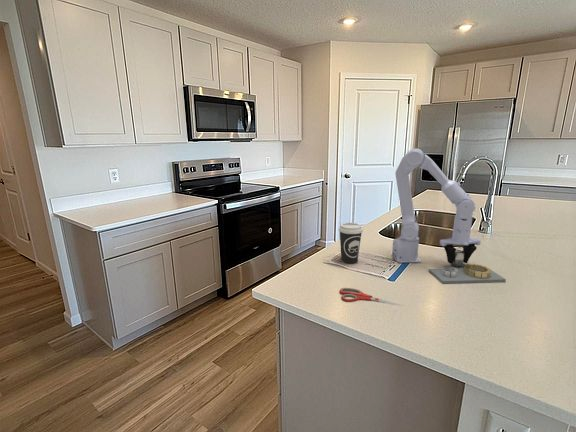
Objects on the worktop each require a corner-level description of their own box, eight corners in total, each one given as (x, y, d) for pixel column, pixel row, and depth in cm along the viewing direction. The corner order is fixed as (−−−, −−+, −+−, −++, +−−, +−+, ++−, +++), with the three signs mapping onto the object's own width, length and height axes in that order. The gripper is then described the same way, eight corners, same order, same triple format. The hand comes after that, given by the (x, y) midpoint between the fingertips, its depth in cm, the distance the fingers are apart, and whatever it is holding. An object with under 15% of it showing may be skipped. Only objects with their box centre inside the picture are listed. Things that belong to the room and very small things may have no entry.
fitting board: (442, 283, 106) (442, 281, 105) (428, 271, 115) (428, 268, 115) (505, 281, 106) (505, 279, 106) (486, 269, 116) (486, 267, 116)
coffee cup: (363, 258, 128) (365, 223, 125) (358, 266, 120) (360, 230, 116) (341, 254, 132) (342, 221, 128) (334, 263, 124) (335, 227, 120)
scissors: (409, 309, 91) (410, 305, 91) (338, 302, 96) (338, 298, 95) (406, 297, 98) (406, 292, 98) (339, 290, 103) (339, 286, 103)
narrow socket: (446, 277, 108) (446, 272, 107) (438, 271, 113) (439, 266, 112) (460, 277, 108) (461, 271, 108) (452, 271, 113) (453, 266, 112)
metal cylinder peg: (454, 268, 118) (456, 253, 116) (448, 264, 121) (450, 249, 120) (464, 268, 118) (467, 253, 116) (458, 263, 122) (460, 249, 120)
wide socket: (472, 278, 107) (473, 273, 106) (459, 269, 114) (460, 264, 114) (495, 278, 107) (496, 272, 106) (480, 268, 115) (481, 263, 114)
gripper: (448, 232, 112) (444, 267, 115) (487, 231, 112) (482, 266, 116) (438, 226, 118) (434, 259, 122) (475, 226, 119) (470, 259, 122)
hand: (457, 262), depth 119 cm, fingers open, 5 cm apart
